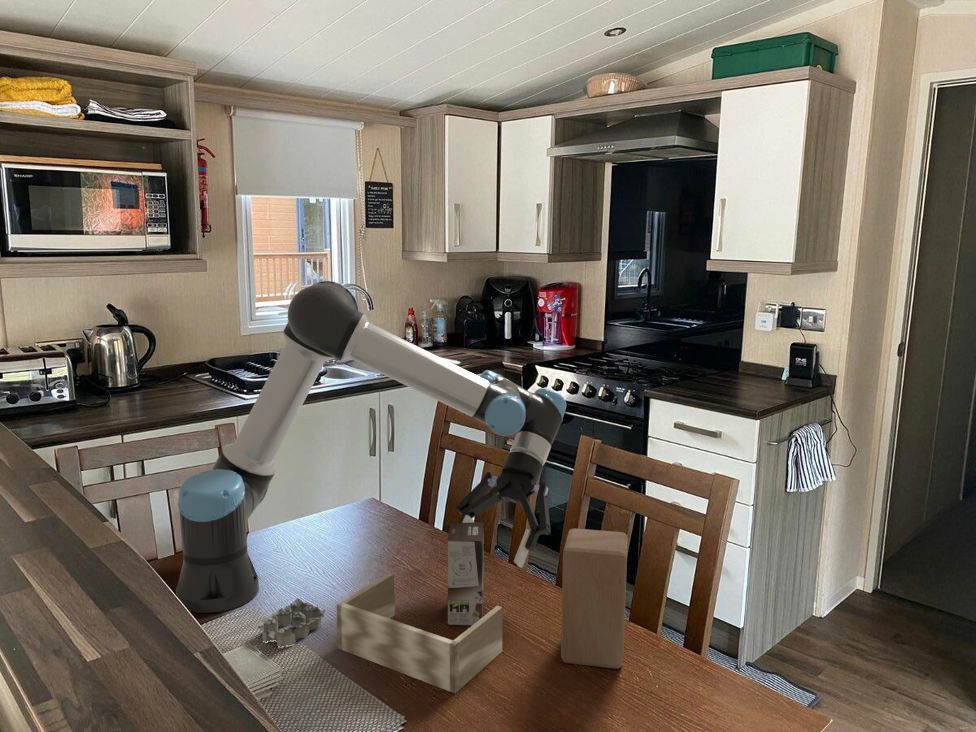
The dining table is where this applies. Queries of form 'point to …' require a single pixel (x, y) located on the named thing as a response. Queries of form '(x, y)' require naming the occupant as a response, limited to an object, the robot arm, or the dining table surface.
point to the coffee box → (465, 573)
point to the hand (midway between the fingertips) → (486, 556)
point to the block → (594, 598)
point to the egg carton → (292, 615)
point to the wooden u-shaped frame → (414, 639)
